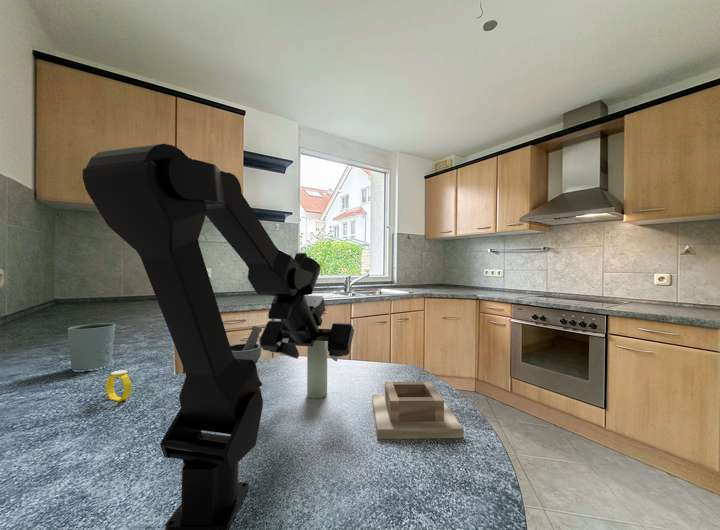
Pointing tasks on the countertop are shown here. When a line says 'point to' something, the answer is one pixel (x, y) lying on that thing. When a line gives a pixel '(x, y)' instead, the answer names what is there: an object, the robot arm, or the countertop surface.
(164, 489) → the countertop surface
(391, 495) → the countertop surface
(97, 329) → the grey plant pot
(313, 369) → the post
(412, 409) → the socket base
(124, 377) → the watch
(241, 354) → the mortar and pestle
